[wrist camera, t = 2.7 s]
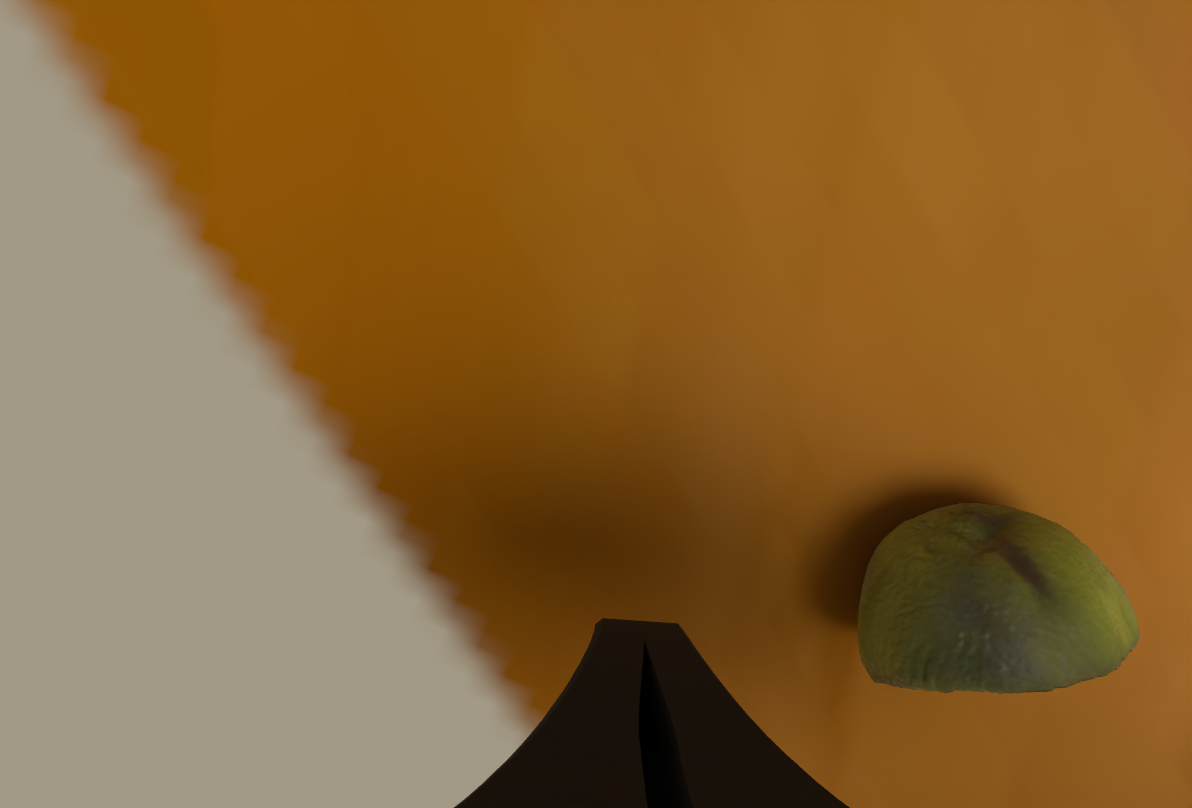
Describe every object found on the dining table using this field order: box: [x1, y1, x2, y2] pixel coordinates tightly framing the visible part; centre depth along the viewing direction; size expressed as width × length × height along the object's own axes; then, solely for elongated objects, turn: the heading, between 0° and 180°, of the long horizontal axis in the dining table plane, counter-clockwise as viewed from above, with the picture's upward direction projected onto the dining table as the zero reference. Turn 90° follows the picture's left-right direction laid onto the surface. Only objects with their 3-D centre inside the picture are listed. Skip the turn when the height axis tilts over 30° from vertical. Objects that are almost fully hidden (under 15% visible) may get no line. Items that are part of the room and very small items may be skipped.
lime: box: [857, 503, 1139, 694], centre depth 14 cm, size 4×5×5 cm
